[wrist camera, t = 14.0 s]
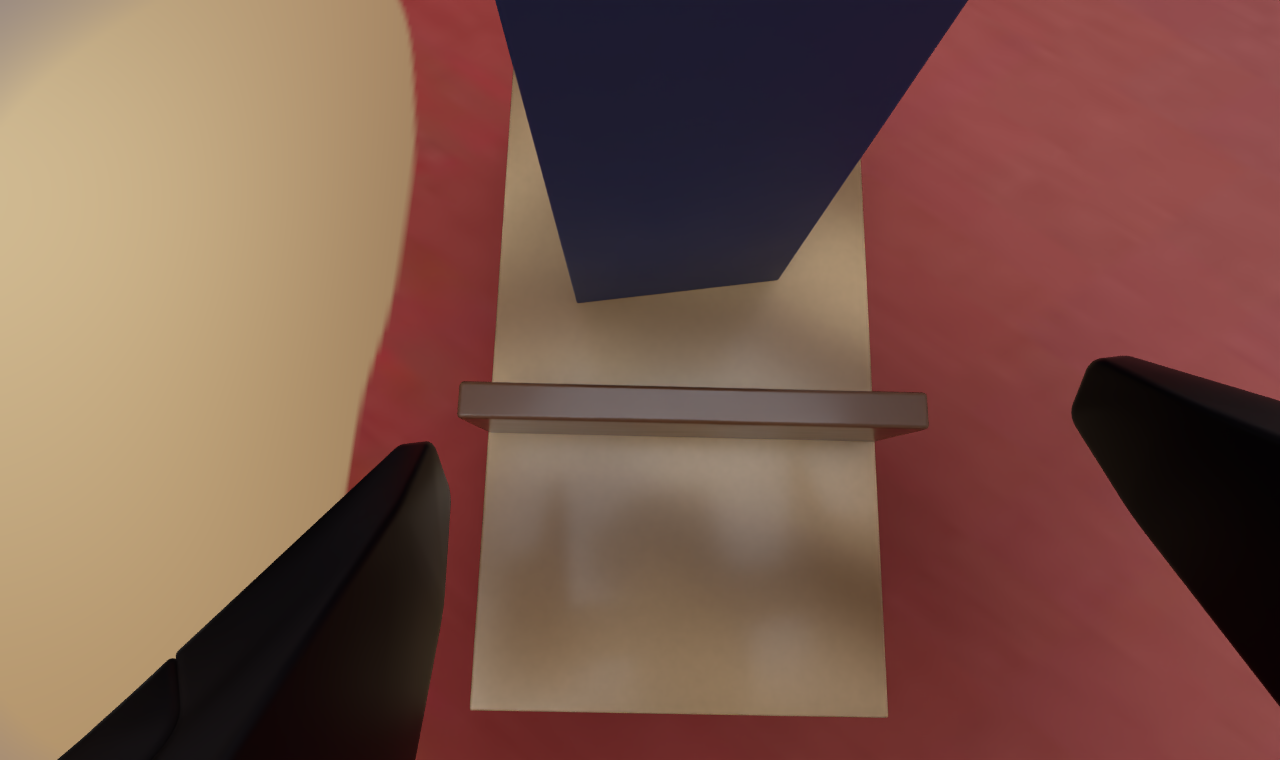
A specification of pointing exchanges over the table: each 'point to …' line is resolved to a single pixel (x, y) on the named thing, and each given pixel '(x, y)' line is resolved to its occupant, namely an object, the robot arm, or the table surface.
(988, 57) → the table surface
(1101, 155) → the table surface
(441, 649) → the table surface
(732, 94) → the navy carton
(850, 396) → the wooden stand
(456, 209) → the table surface
